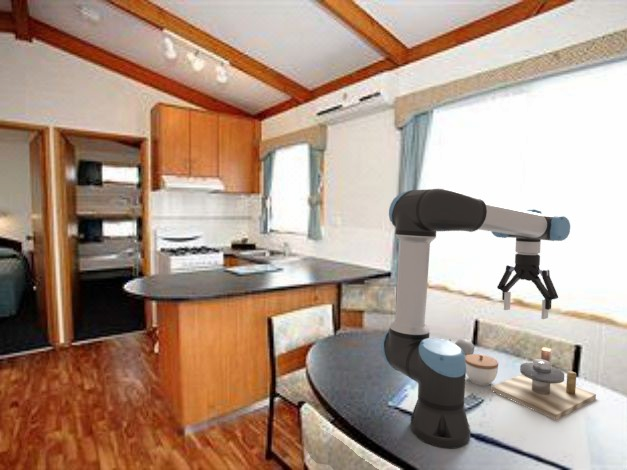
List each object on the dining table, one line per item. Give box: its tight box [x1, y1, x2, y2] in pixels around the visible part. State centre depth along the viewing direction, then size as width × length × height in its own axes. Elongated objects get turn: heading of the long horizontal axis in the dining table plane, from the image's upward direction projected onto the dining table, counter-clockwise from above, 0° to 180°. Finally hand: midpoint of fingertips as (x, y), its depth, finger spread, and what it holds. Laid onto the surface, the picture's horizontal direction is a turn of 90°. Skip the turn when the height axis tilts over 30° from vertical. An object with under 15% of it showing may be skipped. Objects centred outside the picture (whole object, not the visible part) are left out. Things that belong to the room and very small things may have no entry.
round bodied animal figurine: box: [448, 338, 475, 356], centre depth 149 cm, size 7×12×8 cm, turn 67°
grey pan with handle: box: [519, 347, 565, 383], centre depth 122 cm, size 18×12×6 cm
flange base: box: [490, 370, 597, 421], centre depth 120 cm, size 24×20×8 cm
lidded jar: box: [465, 353, 499, 387], centre depth 129 cm, size 11×11×9 cm
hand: (525, 313), depth 132 cm, fingers open, 12 cm apart
